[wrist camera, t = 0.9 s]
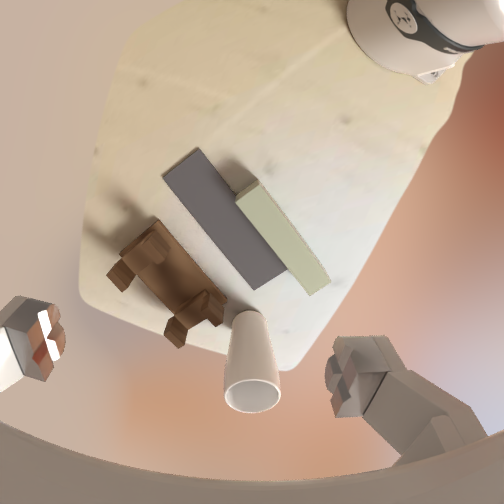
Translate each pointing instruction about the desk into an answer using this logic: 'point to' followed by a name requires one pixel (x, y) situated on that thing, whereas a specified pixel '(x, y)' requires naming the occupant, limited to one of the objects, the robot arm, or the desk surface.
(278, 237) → the clay strip
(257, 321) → the drinking glass
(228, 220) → the pad
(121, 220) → the desk surface
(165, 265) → the rack
